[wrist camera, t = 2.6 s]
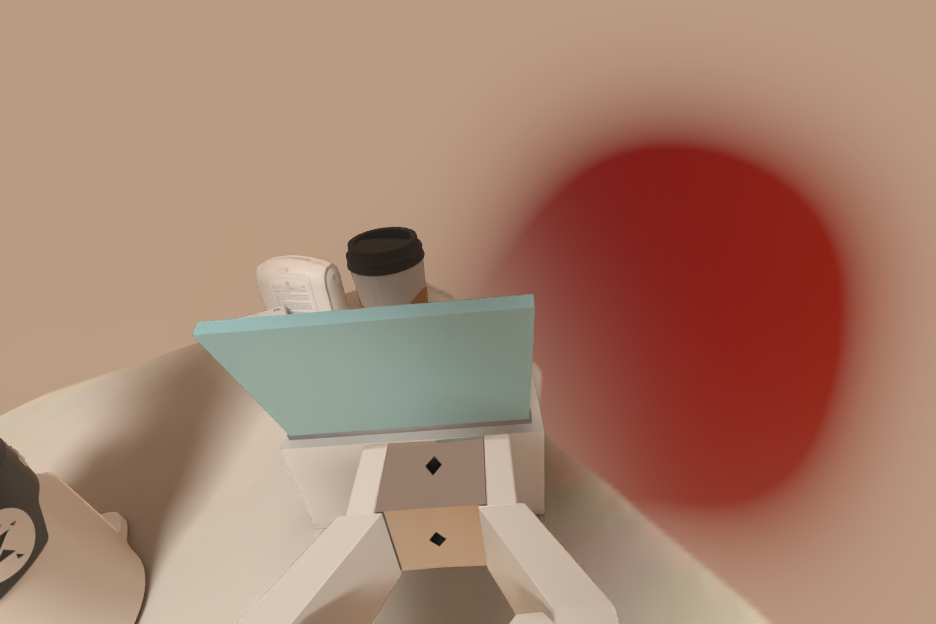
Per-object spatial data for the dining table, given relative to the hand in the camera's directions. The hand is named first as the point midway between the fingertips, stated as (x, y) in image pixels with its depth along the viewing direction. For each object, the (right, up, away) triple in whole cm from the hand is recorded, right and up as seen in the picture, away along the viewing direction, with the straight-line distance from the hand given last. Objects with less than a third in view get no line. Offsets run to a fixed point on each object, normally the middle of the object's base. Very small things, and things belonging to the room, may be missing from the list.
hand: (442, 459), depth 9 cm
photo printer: (-19, -1, +49) cm, 52 cm away
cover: (-4, 0, +16) cm, 17 cm away
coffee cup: (-7, -2, +45) cm, 45 cm away
